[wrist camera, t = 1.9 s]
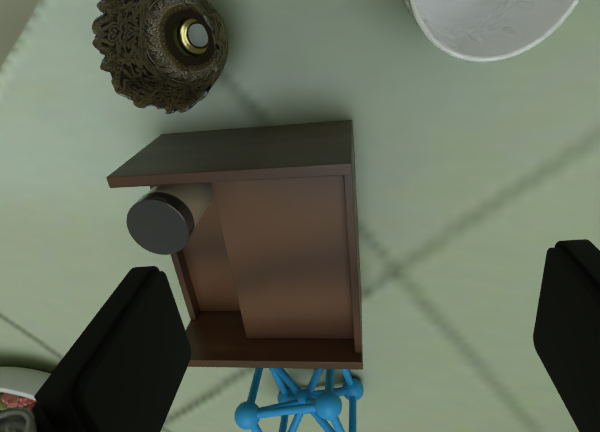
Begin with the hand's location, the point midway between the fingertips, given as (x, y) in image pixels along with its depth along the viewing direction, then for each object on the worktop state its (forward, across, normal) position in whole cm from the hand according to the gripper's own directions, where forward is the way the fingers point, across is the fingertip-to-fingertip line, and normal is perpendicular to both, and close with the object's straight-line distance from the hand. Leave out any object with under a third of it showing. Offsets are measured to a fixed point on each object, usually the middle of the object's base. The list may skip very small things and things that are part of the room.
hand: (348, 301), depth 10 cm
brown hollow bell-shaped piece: (+25, +10, -5) cm, 27 cm away
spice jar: (+22, +12, +5) cm, 26 cm away
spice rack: (+25, +8, +11) cm, 28 cm away
